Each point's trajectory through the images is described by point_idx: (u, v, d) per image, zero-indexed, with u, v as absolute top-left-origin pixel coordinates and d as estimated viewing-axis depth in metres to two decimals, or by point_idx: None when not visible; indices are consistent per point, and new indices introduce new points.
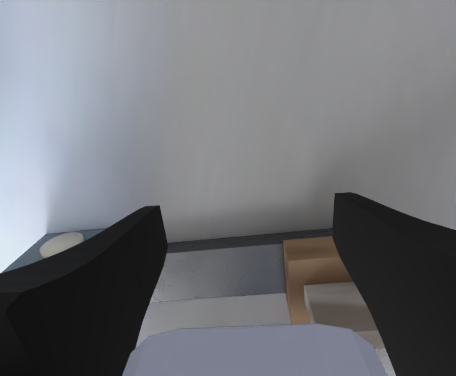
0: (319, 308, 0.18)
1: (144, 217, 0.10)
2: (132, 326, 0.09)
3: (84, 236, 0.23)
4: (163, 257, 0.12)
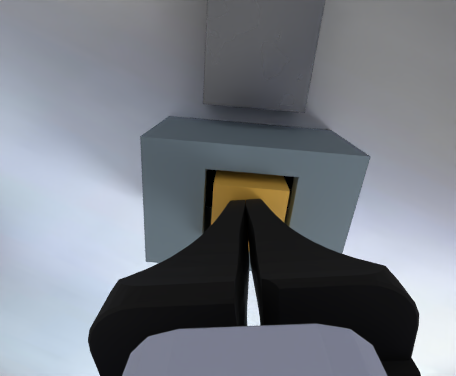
0: None
1: (243, 210, 0.10)
2: (246, 321, 0.08)
3: None
4: (248, 252, 0.11)
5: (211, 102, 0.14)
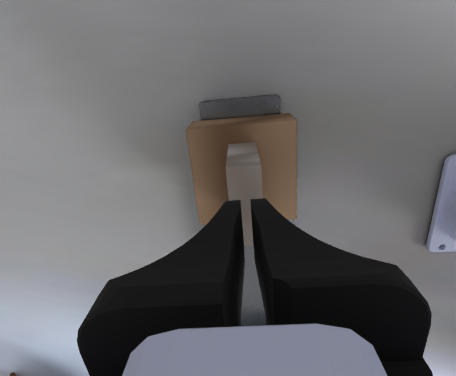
0: None
1: (238, 211, 0.10)
2: (240, 322, 0.08)
3: None
4: (244, 253, 0.11)
5: None
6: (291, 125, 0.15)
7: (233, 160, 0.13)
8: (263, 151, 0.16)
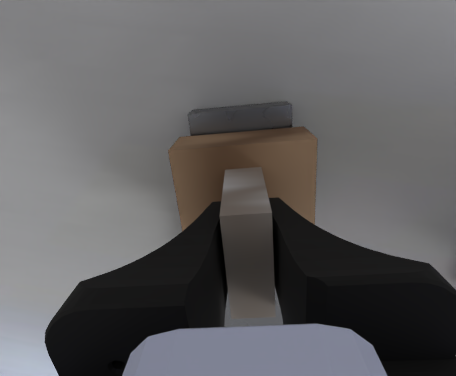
0: None
1: None
2: (222, 322, 0.08)
3: None
4: None
5: None
6: (309, 145, 0.11)
7: (230, 201, 0.09)
8: (272, 179, 0.12)
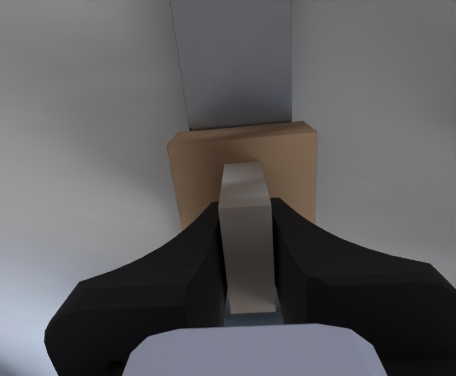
0: None
1: None
2: (221, 322, 0.08)
3: None
4: None
5: None
6: (309, 139, 0.11)
7: (229, 195, 0.09)
8: (272, 174, 0.12)
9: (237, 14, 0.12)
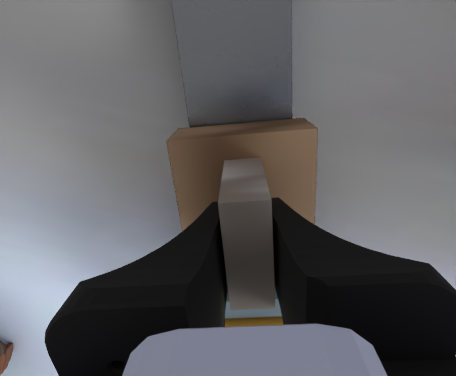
0: None
1: None
2: (222, 322, 0.08)
3: None
4: None
5: None
6: (309, 135, 0.11)
7: (229, 190, 0.09)
8: (272, 170, 0.12)
9: None
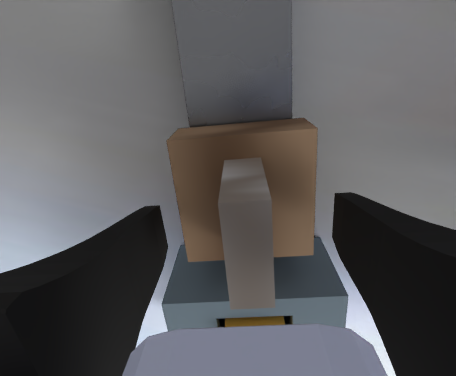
0: None
1: (144, 217, 0.10)
2: (132, 326, 0.09)
3: None
4: (163, 257, 0.12)
5: None
6: (309, 135, 0.11)
7: (229, 189, 0.09)
8: (272, 170, 0.12)
9: None
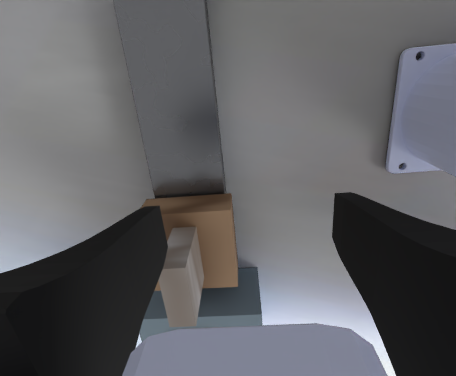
0: None
1: (144, 217, 0.10)
2: (132, 326, 0.09)
3: None
4: (163, 257, 0.12)
5: None
6: (226, 214, 0.17)
7: (166, 258, 0.15)
8: (204, 234, 0.18)
9: (167, 27, 0.16)
